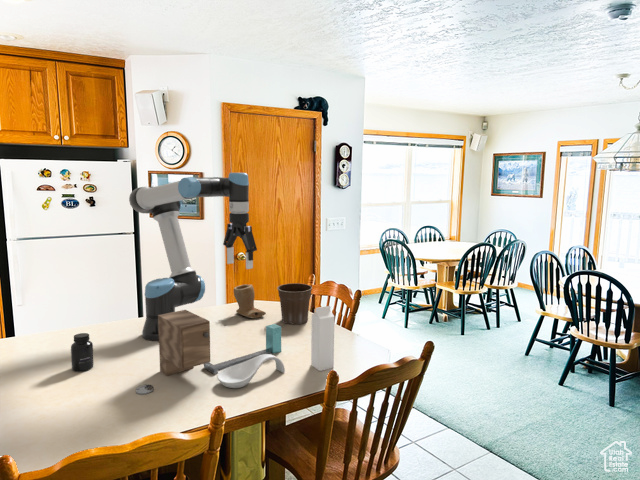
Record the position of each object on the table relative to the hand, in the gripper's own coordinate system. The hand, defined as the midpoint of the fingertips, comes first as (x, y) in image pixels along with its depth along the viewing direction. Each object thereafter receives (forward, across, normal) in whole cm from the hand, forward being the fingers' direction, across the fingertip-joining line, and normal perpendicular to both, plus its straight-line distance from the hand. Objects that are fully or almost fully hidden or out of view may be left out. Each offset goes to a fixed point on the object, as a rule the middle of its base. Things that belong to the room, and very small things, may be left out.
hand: (239, 266), depth 183 cm
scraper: (+32, +16, -8) cm, 36 cm away
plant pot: (+32, -8, +35) cm, 48 cm away
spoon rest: (+32, +31, -16) cm, 47 cm away
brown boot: (+32, -29, +23) cm, 49 cm away
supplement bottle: (+32, -15, -55) cm, 65 cm away
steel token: (+32, +16, -46) cm, 58 cm away
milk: (+32, +39, +9) cm, 51 cm away
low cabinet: (+32, +14, -31) cm, 46 cm away
